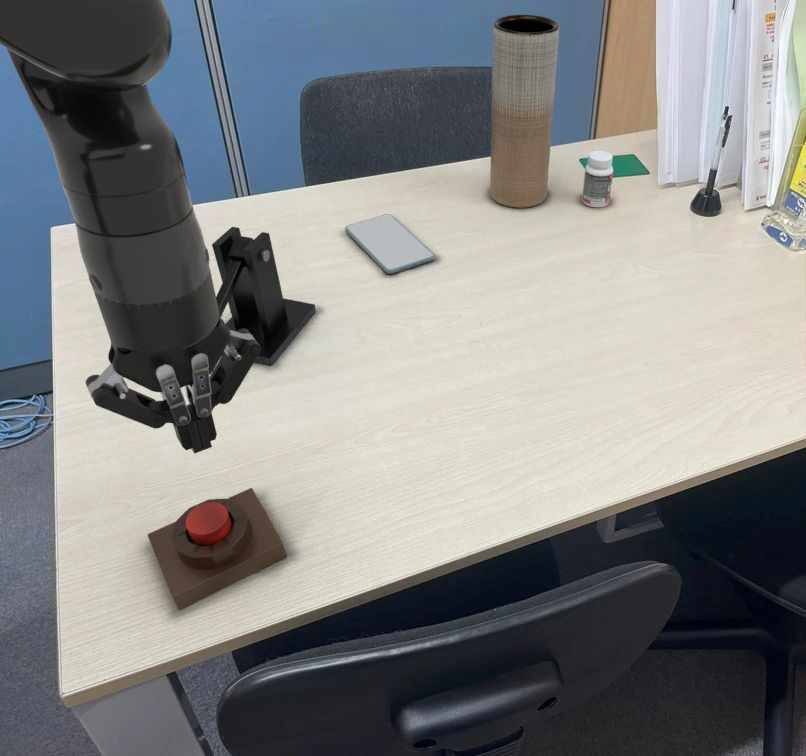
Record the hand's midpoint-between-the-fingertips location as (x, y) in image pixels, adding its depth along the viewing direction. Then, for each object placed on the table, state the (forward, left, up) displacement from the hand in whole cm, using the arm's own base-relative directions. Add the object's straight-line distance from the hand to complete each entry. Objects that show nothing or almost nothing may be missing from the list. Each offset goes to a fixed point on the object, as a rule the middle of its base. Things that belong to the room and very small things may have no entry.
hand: (199, 444), depth 60 cm
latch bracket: (+14, +29, -13) cm, 35 cm away
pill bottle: (+75, +33, -13) cm, 83 cm away
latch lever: (+11, +26, -5) cm, 29 cm away
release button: (-2, -1, -9) cm, 9 cm away
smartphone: (+38, +39, -13) cm, 56 cm away
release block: (-2, -1, -13) cm, 13 cm away
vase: (+65, +42, -13) cm, 79 cm away
